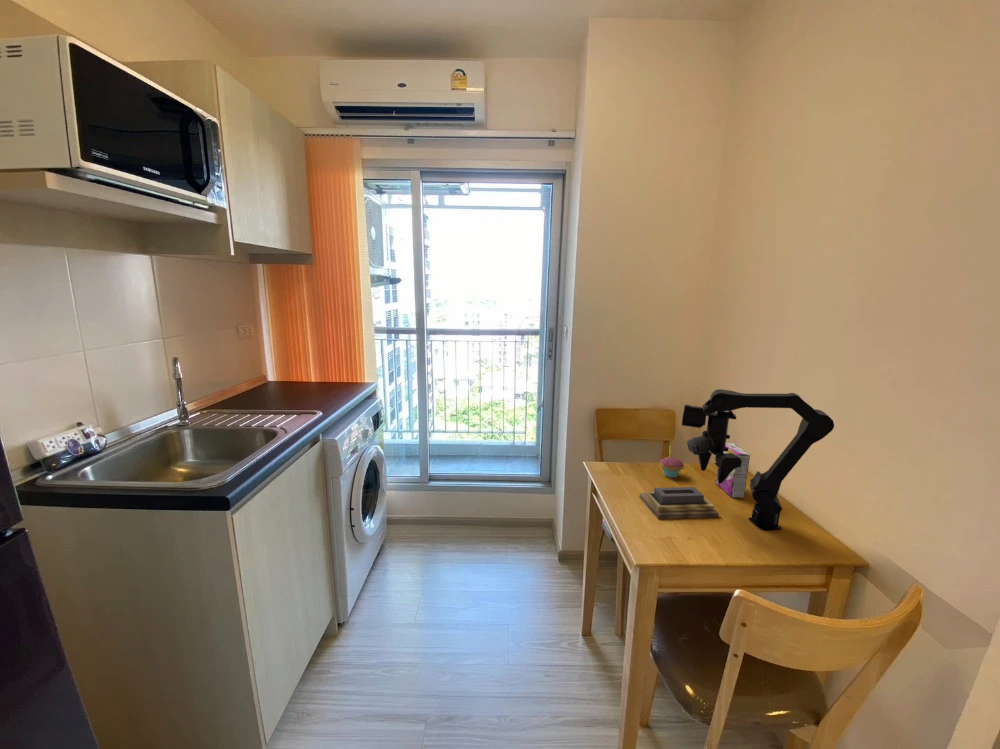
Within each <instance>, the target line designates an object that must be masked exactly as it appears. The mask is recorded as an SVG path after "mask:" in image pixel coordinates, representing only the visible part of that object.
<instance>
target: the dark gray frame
mask: <svg viewBox="0 0 1000 749" xmlns="http://www.w3.org/2000/svg"><path fill="white" fill-rule="evenodd" d="M653 492H654V497H653V498H654V499H655V500H656V501H657V502H658V503H659V504H660V505H687V504H703V501H704V498H705V495H704V494H703V493H702V492H701V491H700V490H698V489H697V488H696V487H694V486H687V487H686V486H683V487H682V486H681V487H680V486H679V487H674V486H673V487H654V489H653Z"/></svg>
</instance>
